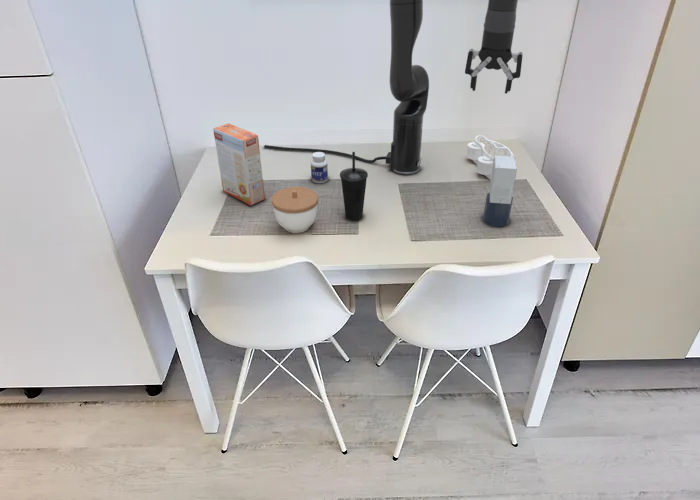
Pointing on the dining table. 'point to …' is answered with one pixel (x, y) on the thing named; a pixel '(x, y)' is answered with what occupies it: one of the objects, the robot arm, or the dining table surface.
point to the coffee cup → (496, 213)
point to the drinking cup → (353, 191)
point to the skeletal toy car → (478, 151)
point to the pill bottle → (319, 168)
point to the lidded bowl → (295, 208)
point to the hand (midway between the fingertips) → (489, 91)
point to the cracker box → (239, 163)
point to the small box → (502, 179)
